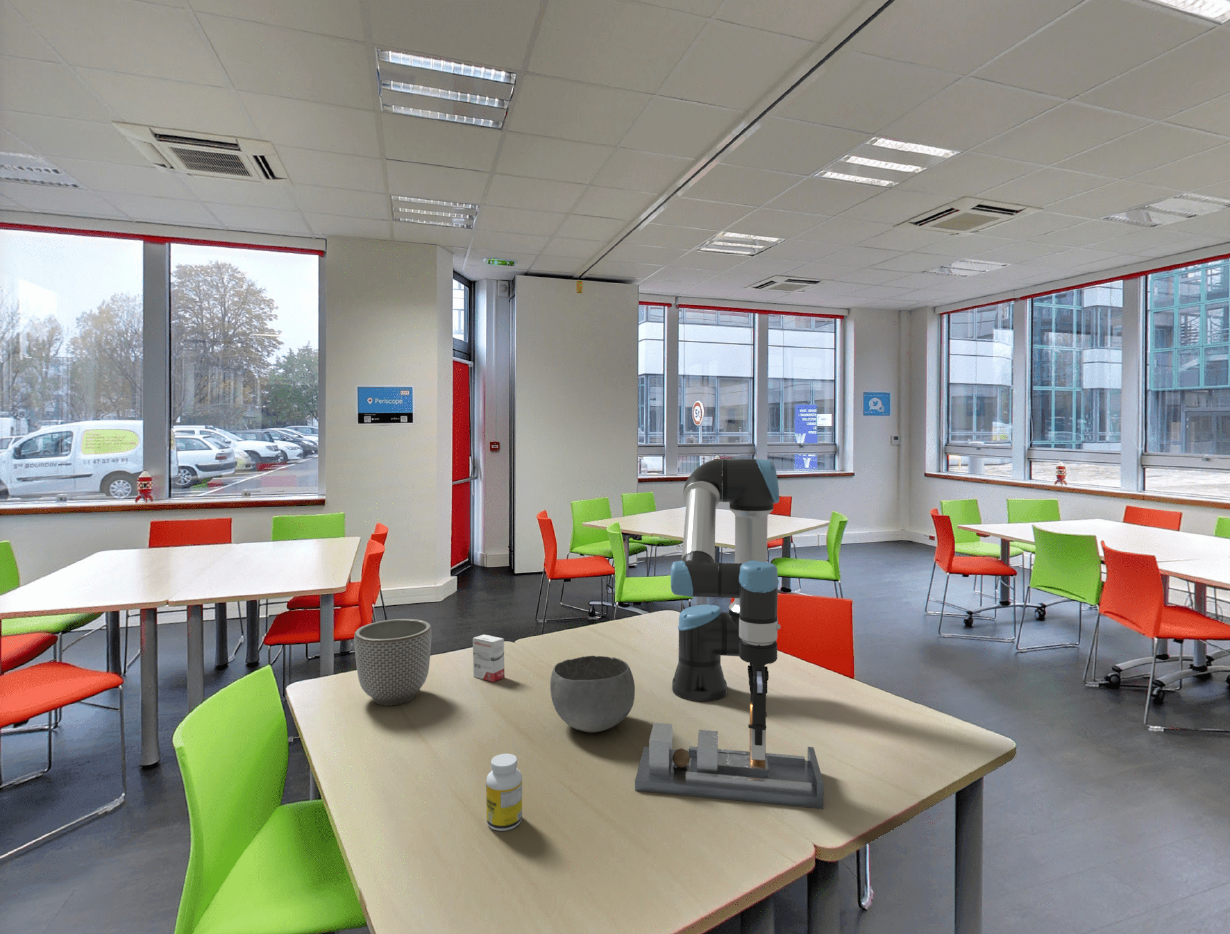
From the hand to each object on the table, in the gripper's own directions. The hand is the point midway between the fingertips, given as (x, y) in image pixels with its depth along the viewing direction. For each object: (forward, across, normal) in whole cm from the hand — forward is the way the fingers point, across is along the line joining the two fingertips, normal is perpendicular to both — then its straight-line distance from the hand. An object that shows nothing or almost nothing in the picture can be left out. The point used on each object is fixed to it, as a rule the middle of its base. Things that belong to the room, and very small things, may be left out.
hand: (757, 753), depth 127 cm
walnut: (+4, 0, +15) cm, 16 cm away
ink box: (+6, +46, +75) cm, 88 cm away
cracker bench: (+6, 0, +6) cm, 9 cm away
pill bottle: (+6, -21, +46) cm, 51 cm away
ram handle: (+4, 0, +5) cm, 6 cm away
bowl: (+6, +20, +38) cm, 43 cm away
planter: (+6, +27, +95) cm, 99 cm away
